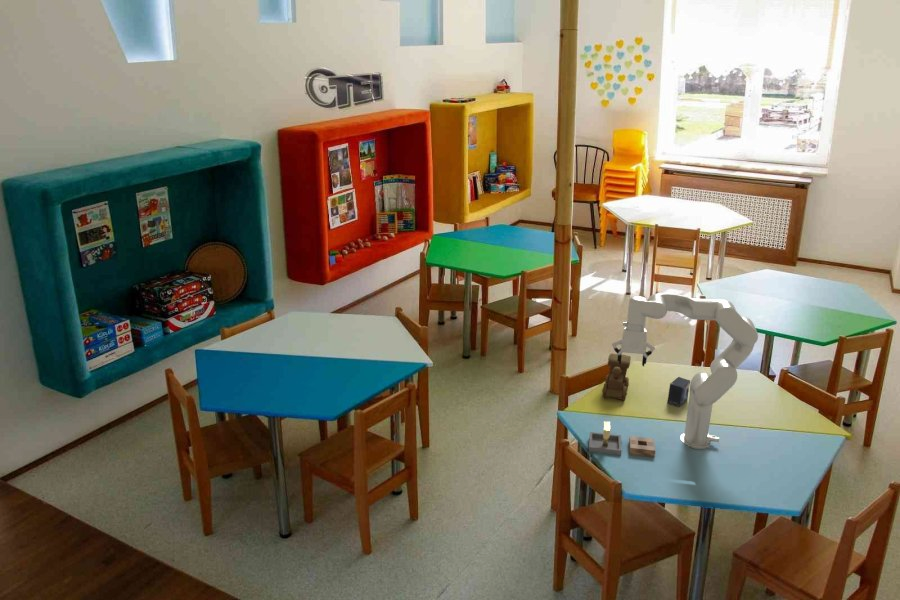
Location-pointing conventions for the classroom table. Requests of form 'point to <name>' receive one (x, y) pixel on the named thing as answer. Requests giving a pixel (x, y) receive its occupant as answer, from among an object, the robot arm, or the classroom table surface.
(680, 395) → the small box
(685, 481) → the classroom table surface
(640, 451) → the socket block
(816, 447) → the classroom table surface
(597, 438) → the tray
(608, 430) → the t key
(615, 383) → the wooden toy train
